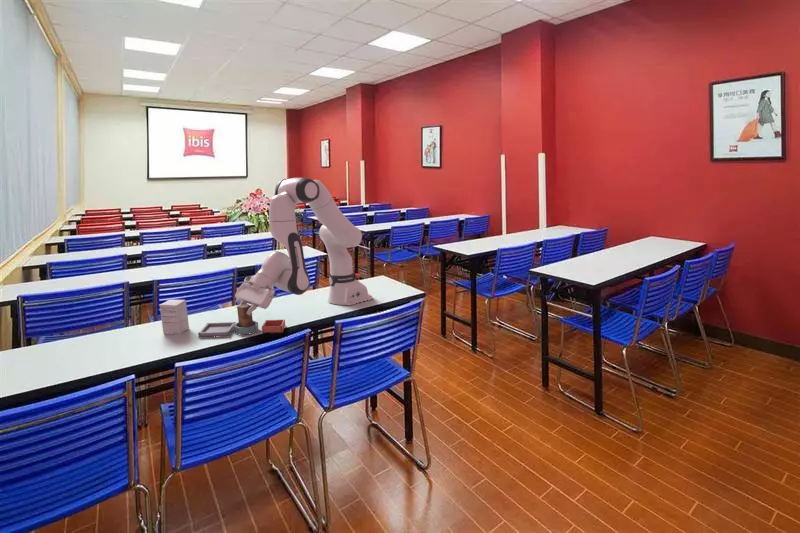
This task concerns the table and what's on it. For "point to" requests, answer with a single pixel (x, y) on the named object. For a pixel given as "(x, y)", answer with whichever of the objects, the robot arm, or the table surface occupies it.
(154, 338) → the table surface
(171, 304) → the supplement box
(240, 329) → the grey octagonal bowl
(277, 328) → the bin
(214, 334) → the slate tray
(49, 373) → the table surface
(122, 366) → the table surface
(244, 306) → the walnut block
